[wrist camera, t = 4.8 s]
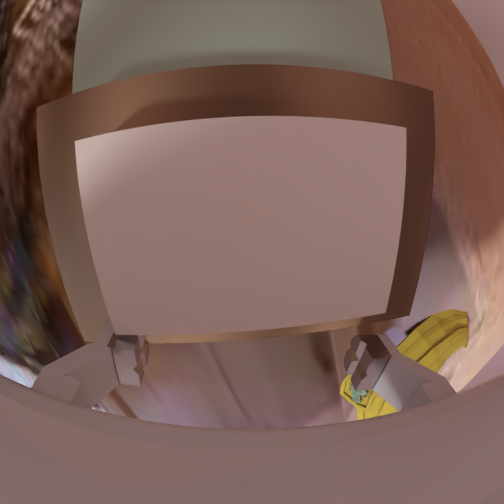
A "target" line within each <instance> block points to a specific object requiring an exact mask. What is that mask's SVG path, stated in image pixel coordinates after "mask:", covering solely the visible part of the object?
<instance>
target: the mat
mask: <svg viewBox="0 0 504 504" xmlns="http://www.w3.org/2000/svg"><path fill="white" fill-rule="evenodd" d="M238 64H274V65H295V66H308V67H319V68H328V69H336V70H343V71H349V72H355V73H361V74H366V75H371V76H376V77H381V78H386V79H390V80H393V73H392V64H391V56H390V48H389V42H388V35H387V29H386V24H385V19H384V14H383V9H382V4H381V0H83V2H82V7H81V12H80V18H79V23H78V30H77V37H76V45H75V55H74V67H73V85H72V94H73V93H76V92H79V91H82V90H86V89H89V88H92V87H96V86H99V85H103V84H106V83H110V82H114V81H118V80H122V79H127V78H131V77H136V76H141V75H146V74H151V73H157V72H163V71H170V70H177V69H185V68H194V67H204V66H217V65H238Z"/></svg>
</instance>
